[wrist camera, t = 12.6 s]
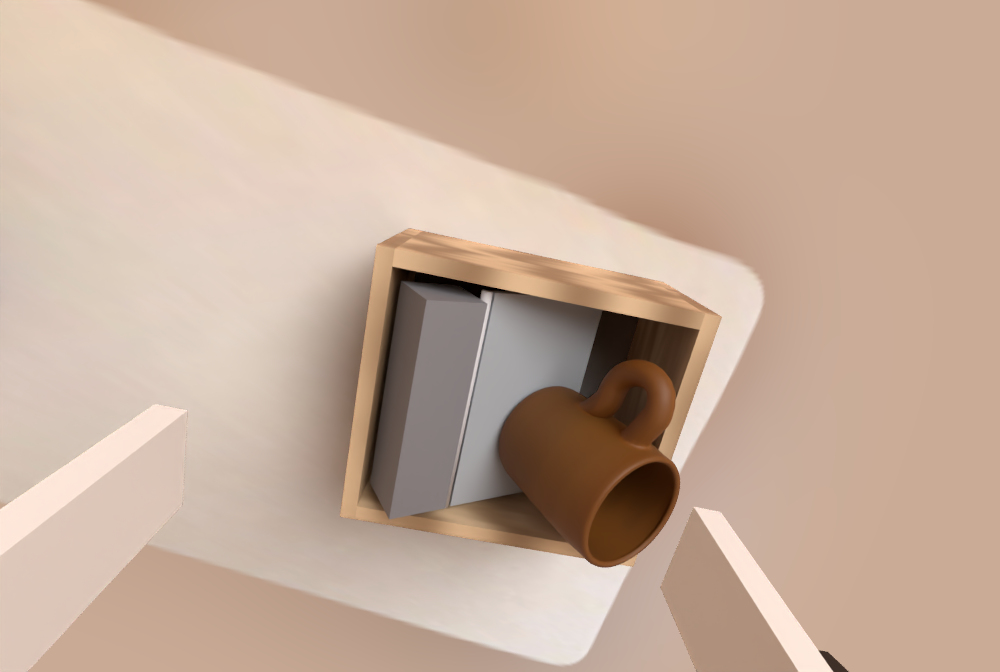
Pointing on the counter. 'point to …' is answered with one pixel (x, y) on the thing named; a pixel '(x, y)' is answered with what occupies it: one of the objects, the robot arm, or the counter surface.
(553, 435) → the mug
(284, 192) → the counter surface
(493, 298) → the trapdoor
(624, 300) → the trapdoor frame
